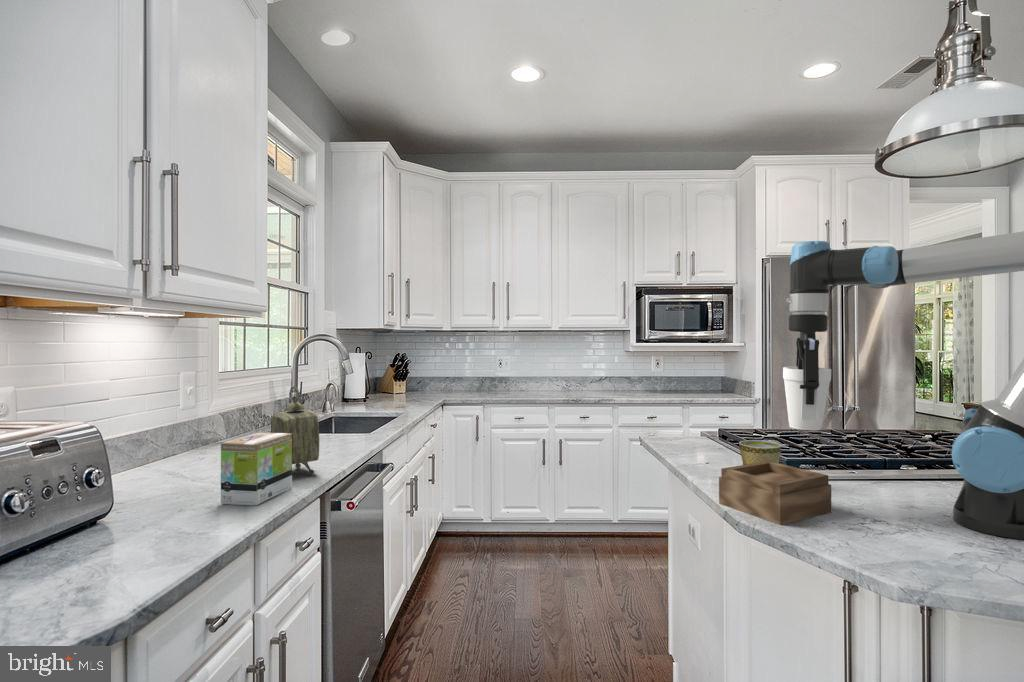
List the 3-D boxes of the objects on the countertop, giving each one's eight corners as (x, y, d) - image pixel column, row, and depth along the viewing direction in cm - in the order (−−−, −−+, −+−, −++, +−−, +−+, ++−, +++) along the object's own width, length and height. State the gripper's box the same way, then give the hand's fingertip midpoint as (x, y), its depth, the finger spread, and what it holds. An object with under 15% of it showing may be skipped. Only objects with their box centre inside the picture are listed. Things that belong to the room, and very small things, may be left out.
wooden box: (831, 512, 120) (831, 475, 120) (780, 524, 113) (780, 485, 113) (768, 493, 134) (767, 460, 134) (719, 503, 127) (718, 468, 127)
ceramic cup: (768, 490, 137) (768, 449, 137) (731, 481, 145) (731, 443, 145) (795, 481, 145) (795, 442, 144) (758, 473, 153) (758, 437, 152)
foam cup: (771, 425, 125) (773, 367, 125) (801, 422, 129) (802, 366, 128) (809, 433, 116) (811, 371, 116) (839, 429, 120) (841, 369, 120)
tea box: (258, 506, 130) (257, 443, 130) (219, 505, 131) (218, 442, 131) (293, 488, 145) (292, 431, 144) (258, 487, 146) (257, 431, 146)
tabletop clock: (320, 475, 157) (318, 387, 156) (287, 481, 151) (285, 389, 151) (301, 466, 168) (300, 383, 167) (270, 471, 162) (268, 386, 162)
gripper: (783, 314, 133) (781, 407, 134) (795, 312, 113) (792, 423, 113) (819, 314, 131) (816, 409, 131) (837, 313, 110) (834, 426, 111)
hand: (805, 415), depth 122 cm, fingers closed on foam cup, 9 cm apart
